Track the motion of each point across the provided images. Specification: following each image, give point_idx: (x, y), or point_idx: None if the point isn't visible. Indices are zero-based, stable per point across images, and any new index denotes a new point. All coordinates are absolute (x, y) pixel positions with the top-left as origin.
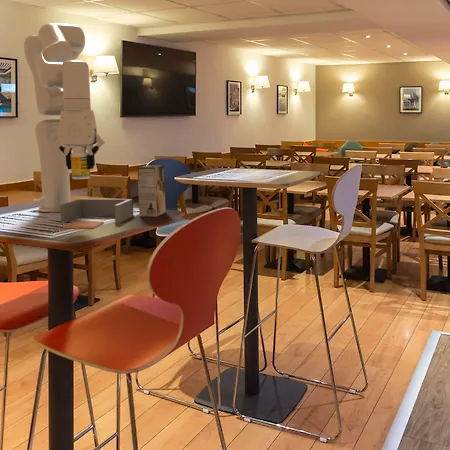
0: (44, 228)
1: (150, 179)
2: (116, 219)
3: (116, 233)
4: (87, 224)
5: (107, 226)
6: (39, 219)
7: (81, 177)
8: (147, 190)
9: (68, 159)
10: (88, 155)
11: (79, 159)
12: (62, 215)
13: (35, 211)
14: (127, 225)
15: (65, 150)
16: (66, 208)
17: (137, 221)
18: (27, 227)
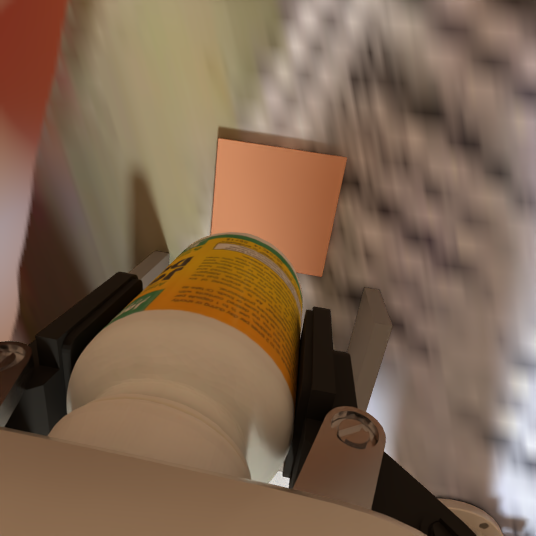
0: (429, 165)
1: None
2: (158, 257)
3: (92, 3)
4: (254, 192)
5: (179, 186)
6: (478, 378)
7: (213, 234)
8: None
9: (316, 359)
10: (43, 337)
11: (166, 294)
12: (376, 302)
13: (513, 532)
14: (111, 201)
15: (361, 467)
16: (365, 335)
17: (103, 282)
18: (509, 200)
